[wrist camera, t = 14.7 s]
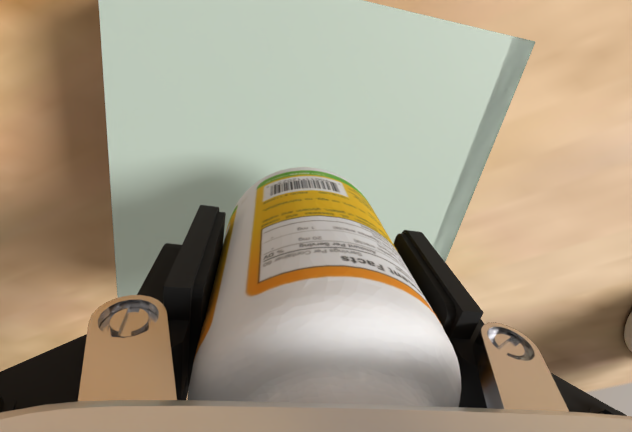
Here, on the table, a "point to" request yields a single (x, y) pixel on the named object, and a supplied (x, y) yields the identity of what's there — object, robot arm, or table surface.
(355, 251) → the supplement bottle
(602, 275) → the table surface
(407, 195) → the lid
